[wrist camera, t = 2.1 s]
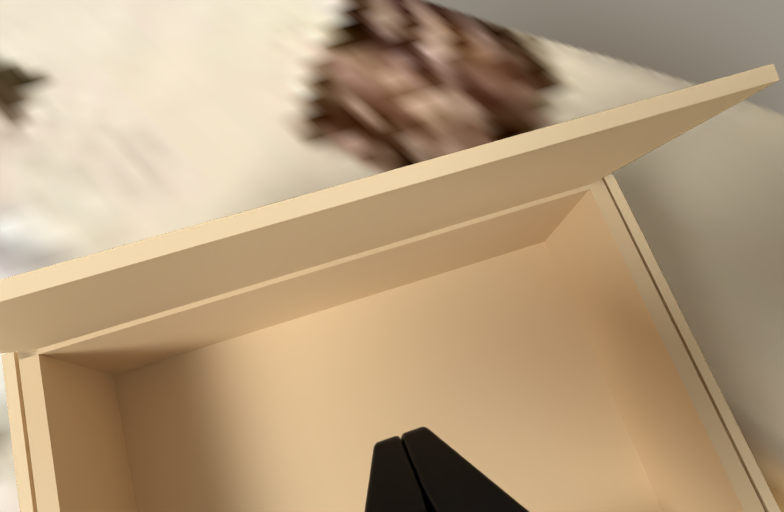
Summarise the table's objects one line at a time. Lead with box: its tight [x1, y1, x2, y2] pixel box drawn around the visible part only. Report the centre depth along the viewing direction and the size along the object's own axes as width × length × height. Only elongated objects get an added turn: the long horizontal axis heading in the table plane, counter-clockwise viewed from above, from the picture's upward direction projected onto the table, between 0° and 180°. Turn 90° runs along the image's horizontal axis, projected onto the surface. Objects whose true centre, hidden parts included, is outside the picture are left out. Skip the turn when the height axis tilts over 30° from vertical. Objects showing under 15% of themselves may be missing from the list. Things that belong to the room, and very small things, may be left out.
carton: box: [2, 174, 781, 512], centre depth 16 cm, size 13×18×5 cm
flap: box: [0, 64, 779, 353], centre depth 12 cm, size 1×16×7 cm, turn 108°
